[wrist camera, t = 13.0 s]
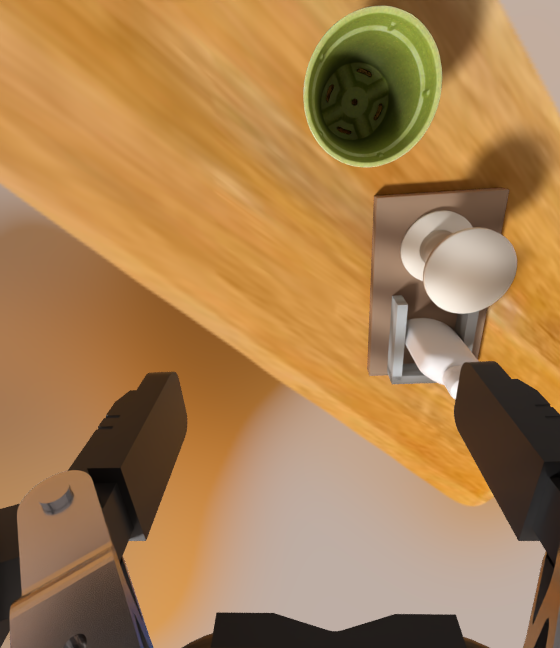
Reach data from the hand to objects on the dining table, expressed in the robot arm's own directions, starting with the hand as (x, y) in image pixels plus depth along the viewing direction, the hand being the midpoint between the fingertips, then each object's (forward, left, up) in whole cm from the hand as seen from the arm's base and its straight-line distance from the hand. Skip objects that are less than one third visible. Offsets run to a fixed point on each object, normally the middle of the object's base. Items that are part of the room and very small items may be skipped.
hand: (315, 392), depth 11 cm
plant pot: (-9, +5, -30) cm, 32 cm away
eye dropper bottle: (+14, +13, -29) cm, 34 cm away
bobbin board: (+9, +13, -30) cm, 34 cm away
